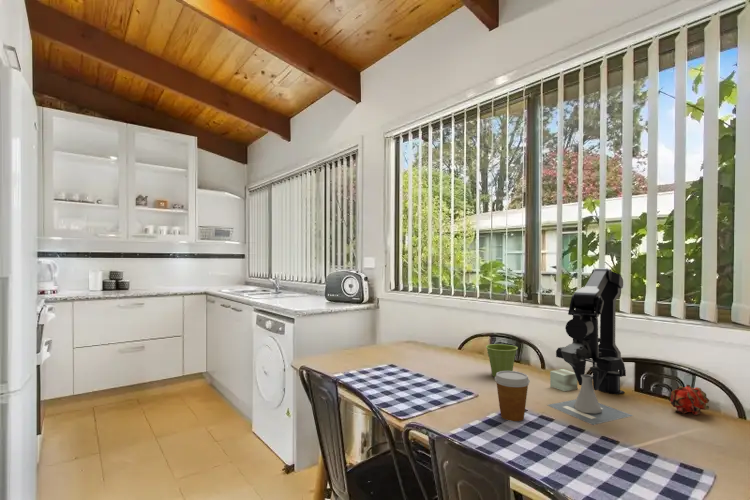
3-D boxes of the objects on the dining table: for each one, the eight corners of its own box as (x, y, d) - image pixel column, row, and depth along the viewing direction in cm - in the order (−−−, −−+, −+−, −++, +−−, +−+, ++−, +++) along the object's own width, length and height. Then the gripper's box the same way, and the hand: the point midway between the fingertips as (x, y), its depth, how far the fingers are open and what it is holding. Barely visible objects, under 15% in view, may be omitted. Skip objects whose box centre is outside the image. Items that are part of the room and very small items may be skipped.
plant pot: (521, 374, 157) (520, 345, 157) (513, 382, 147) (513, 351, 147) (490, 370, 164) (490, 342, 164) (481, 377, 154) (481, 348, 154)
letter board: (584, 399, 129) (584, 397, 129) (633, 417, 115) (633, 415, 115) (546, 407, 123) (546, 404, 123) (593, 427, 109) (593, 424, 109)
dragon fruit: (707, 416, 119) (678, 427, 116) (682, 392, 126) (653, 402, 122) (723, 399, 114) (693, 410, 111) (696, 375, 121) (666, 384, 117)
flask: (607, 414, 116) (606, 379, 116) (582, 415, 115) (582, 379, 115) (592, 405, 123) (591, 372, 123) (569, 405, 122) (568, 372, 123)
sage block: (563, 386, 143) (562, 369, 144) (577, 391, 138) (577, 373, 138) (550, 388, 141) (550, 371, 141) (564, 393, 136) (564, 375, 136)
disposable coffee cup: (490, 411, 120) (489, 370, 120) (521, 410, 121) (520, 369, 121) (502, 424, 111) (502, 380, 111) (536, 423, 111) (535, 379, 112)
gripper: (542, 331, 125) (543, 382, 125) (595, 342, 108) (596, 401, 107) (568, 328, 129) (569, 377, 129) (624, 339, 112) (625, 395, 112)
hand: (588, 387), depth 119 cm, fingers open, 5 cm apart
